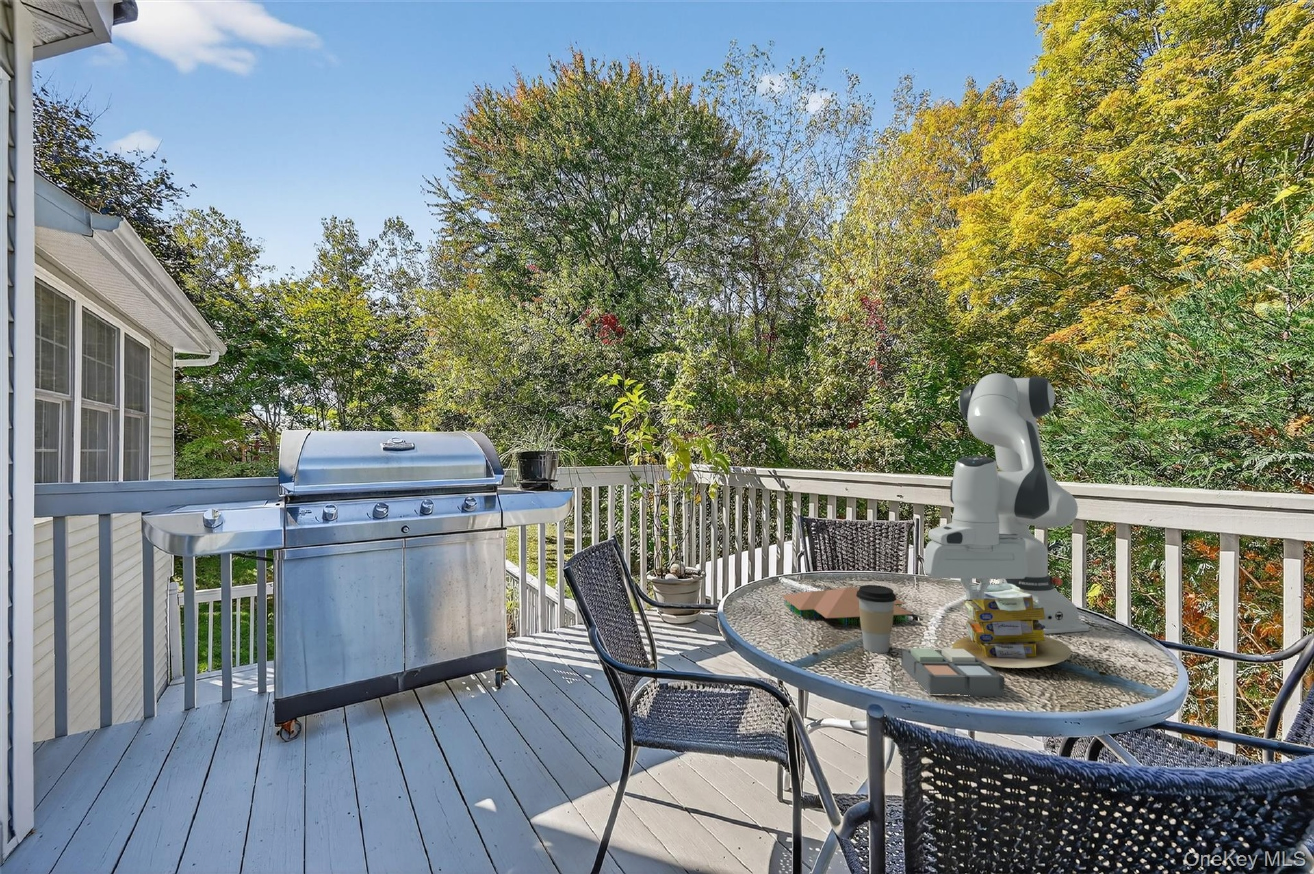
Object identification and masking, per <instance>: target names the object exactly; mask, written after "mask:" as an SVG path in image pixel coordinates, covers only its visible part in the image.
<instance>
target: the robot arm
mask: <svg viewBox="0 0 1314 874" xmlns="http://www.w3.org/2000/svg"><path fill="white" fill-rule="evenodd" d="M959 394H960V395H959V399H958V408H959V411H960V413H961V415H962V417H963V418H964V419H965V420H966V421H967V426H968V429H969V431H970V432H971V433H972V435H973V436H974V437H975V438H976V439H978V440H980V441H981V442H984V443H985V444H988V445H992V446H993V447H994V454H995V459H994V458H992V457H989V456H988V457H987V456H981V455H969V456H963V457H960V458H958V459H957V460H956V461H955V465H954V470H953V476H952V480H950V484H949V485H950V486H949V487H950V491H949V494H950V498H949V500H950V501H951V503H952V504H953V512H952V517H951V522H950V523H947V524H943V525H941V526H938V527H933V528H932V529H929V530H928V533H927V536H928V539H930V541H929V542H928V543H927V544H926V546H925V549H924V550H925V551H924V556H923V557H924V559H923V571H924V573H925V574H927V576H928V577H931V578H932V579H960V583H961V584H962V586H963V588H964V589H965V597H966V599H968V600H969V599H970V600H972V599H978V600H983V599H984V592H985V590H986V589H987V587H988V586H989V585H991V579H992V580H993V579H995V580H997V579H998V580H999V584H1000V585H1002V584H1007V583H1008V584H1013V585H1015V586H1016V587H1019V588H1020V589H1022V590H1024V591H1025V593H1026V592H1028V593H1030V594H1031V595H1032V597H1033V601H1035V602H1036V603H1038V604H1039V605H1040V606H1042V607H1043V608H1044V614H1045V619H1044V620H1038V621H1039V622H1038V623H1040V624H1041V625H1044V626H1045V628H1044V629H1043V631H1044V635H1048V634H1059V633H1060V634H1061V633H1062V634H1063V633H1077V632H1079V633H1080V632H1089V631H1090V627H1089V625H1088V624H1087V623H1086V622H1084V621H1082V620H1080V616H1079V611H1078V608H1077V606H1076V605H1075V603H1074V602H1072V601H1071V599H1068V598H1067V597H1066V596H1065V595H1063V593H1060V592H1059V591H1058V590H1057V589H1056V588H1055V587H1054V585H1056V586H1059V587H1060V586H1062V585H1063V580H1062V578H1059V577H1056V576H1054V577H1052V576H1050V575H1049V574H1048V559H1049V558H1048V554H1049V553H1048V552H1049V551H1048V548H1047V547H1046V545H1045V544H1044V543H1043V542H1042V541H1041V540H1040V539H1038V538H1036V537H1035V536H1034V535H1033V534H1032V532H1031V531H1030V529H1029V526H1033V527H1034V526H1035V527H1042V528H1065V527H1066V528H1067V527H1068V526H1069V525H1071V524H1072V523H1073V522H1074V521H1075V520H1076V518H1077V516H1078V513H1079V511H1078V510H1079V509H1078V507H1079V506H1078V502H1077V500H1076V498H1075V497H1074V496H1073V495H1072V493H1070V492H1069V491H1067V490H1066V489H1064V488H1063V487H1062V486H1060V484H1058V483H1057V481H1056V480H1055V479H1054V478H1053V477H1052V475H1051V474H1050V472H1049V471H1048V469H1047V467H1046V463H1045V462H1044V461H1045V460H1044V457H1043V452H1042V445H1041V438H1040V432H1039V431H1040V430H1039V427H1038V423H1037V420H1039V419H1041V417H1043V416H1046V415H1048V414H1049V412H1051V411H1052V409H1053V406H1054V404H1055V399H1056V395H1055V394H1056V393H1055V390H1054V387H1053V386H1052V384H1051V382H1050V380H1048V379H1047V378H1046V377H1043V376H1030V377H1015V378H1012V377H1011V376H1009V375H1008V374H1004V373H997V372H995V373H990V374H987V375H985V376H983V377H982V378H981V379H979V381H978V382H977V383H973V384H971V385H968V386H966V387H964V388H963V389H962V390H961V391H960V393H959ZM998 469H999V470H1000V471H999V470H998ZM973 579H977V581H978V582H979V584H978V585H977V586H978V587H977V589H972V588H971V586H972V585H971V584H973ZM1028 593H1027V594H1028Z"/></svg>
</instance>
